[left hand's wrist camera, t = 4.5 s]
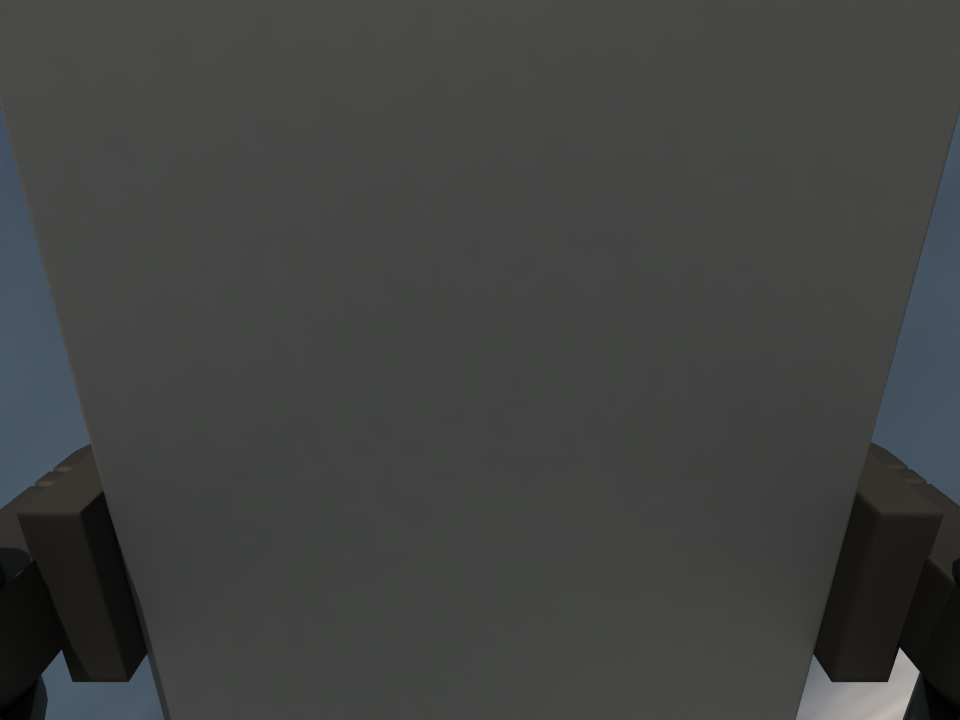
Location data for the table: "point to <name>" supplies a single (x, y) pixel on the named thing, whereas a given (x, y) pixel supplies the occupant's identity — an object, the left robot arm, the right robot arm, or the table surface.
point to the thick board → (480, 333)
